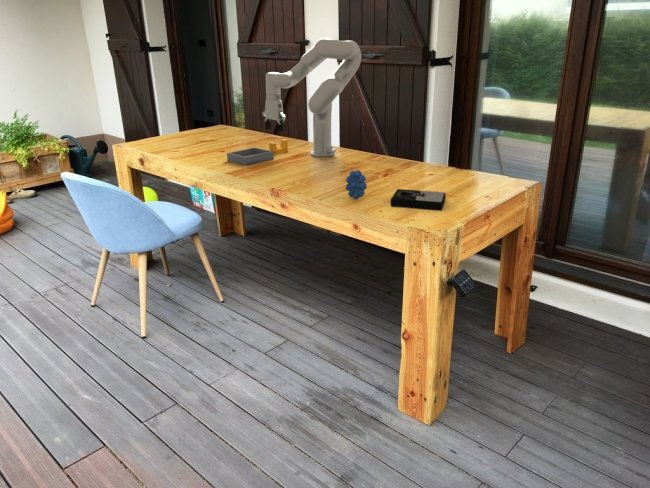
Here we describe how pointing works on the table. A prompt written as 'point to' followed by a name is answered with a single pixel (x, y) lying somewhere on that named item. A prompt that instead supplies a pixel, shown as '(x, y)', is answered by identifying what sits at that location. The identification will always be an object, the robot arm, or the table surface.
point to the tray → (250, 156)
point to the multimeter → (418, 199)
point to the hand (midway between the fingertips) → (274, 130)
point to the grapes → (356, 184)
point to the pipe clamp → (279, 147)
